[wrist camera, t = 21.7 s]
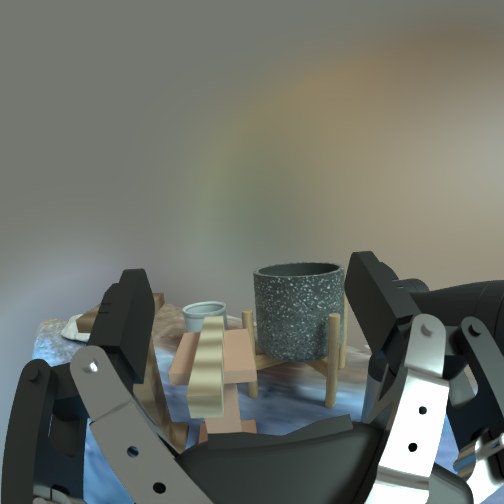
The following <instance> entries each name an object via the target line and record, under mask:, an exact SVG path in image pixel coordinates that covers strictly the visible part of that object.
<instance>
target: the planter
mask: <svg viewBox="0 0 504 504" xmlns="http://www.w3.org/2000/svg"><path fill="white" fill-rule="evenodd" d="M253 275H254V289H255V305H256V320H257V336H258V345H259V347H260V349H261V350H262V351H263V352H264V354H259V355H256V354H255V340H254V326H253V311H252V310H243V311H242V322H243V329H248V333H249V338H250V342H251V347H252V352H253V357H254V362H255V366H256V375H257V370H259V369H263V368H267V367H271V366H275V365H279V364H282V363H286V362H289V361H290V362H306V363H307V364H309V365H310V366H311V367H313V368H314V369H316V370H317V371H318V372H320V373H321V374H323V375H324V376H325V377H327V382H326V397H325V407H327V408H333V407H334V406H335V400H336V389H337V377H338V369H343V368H344V367H345V355H346V335H347V303H348V299H347V297H346V295H345V291H344V266H342V265H339V264H335V263H327V262H296V263H283V264H276V265H269V266H264V267H260V268H258V269H255V270H254V272H253ZM327 356H328V360H327V359H325V358H324V357H327ZM248 391H249V397H250V398H256V397H258V382H257V381H253V382H248Z"/></svg>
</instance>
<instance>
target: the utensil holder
mask: <svg viewBox="0 0 504 504" xmlns="http://www.w3.org/2000/svg"><path fill="white" fill-rule="evenodd" d="M182 311H183V315H184V319H185V325H186V331H187V332H201V330H202V326H203V322H204V318H205V317H211V316H223V319H224V329H225V330H228V327H227V316H226V305H225V304H224V303H222V302H201V303H195V304H191V305H188V306H186V307H184V308H183V309H182Z"/></svg>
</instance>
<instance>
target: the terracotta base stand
mask: <svg viewBox="0 0 504 504" xmlns="http://www.w3.org/2000/svg"><path fill="white" fill-rule="evenodd" d="M200 334H201V332H187V333H184V335H183V337H182V340H181V342H180V345H179V347H178V350H177V352H176V355H175V357H174V360H173V363H172V365H171V368H170V370H169V373H168V374H169V379H170V383H171V385H189V381H190V376H191V372H192V368H193V364H194V359H195V355H196V351H197V347H198V343H199V338H200ZM253 381H257V375H256V366H255V362H254V357H253V352H252V347H251V342H250V338H249V333H248V329H236V330H225V339H224V417H220V418H205V422H201V425H200V434H199V443H201V442H205V441H208V433H232V432H249V433H257V428H256V422H255V419H253V420H241V417H240V408H239V400H238V391H237V383H242V382H253Z"/></svg>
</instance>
